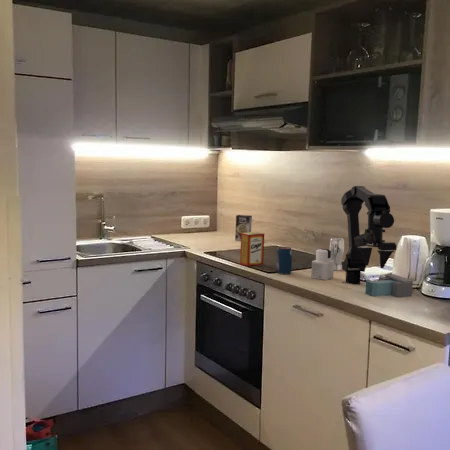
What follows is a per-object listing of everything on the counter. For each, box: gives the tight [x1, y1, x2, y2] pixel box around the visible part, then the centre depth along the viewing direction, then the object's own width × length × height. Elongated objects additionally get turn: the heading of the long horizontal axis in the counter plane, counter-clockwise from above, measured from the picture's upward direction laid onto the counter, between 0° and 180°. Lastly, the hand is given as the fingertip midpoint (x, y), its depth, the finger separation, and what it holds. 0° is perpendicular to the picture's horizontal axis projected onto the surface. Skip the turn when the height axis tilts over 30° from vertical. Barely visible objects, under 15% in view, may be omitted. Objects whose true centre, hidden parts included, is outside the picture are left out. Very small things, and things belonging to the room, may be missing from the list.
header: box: [378, 273, 414, 298], centre depth 217 cm, size 12×7×7 cm, turn 20°
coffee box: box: [234, 214, 253, 242], centre depth 345 cm, size 9×6×16 cm
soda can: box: [275, 246, 293, 275], centre depth 253 cm, size 7×7×12 cm
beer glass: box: [328, 237, 345, 272], centre depth 265 cm, size 7×7×15 cm
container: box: [310, 248, 335, 281], centre depth 246 cm, size 8×8×13 cm
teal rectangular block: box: [364, 279, 396, 297], centre depth 216 cm, size 5×14×5 cm, turn 110°
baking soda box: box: [239, 231, 265, 267], centre depth 271 cm, size 10×6×16 cm
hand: (374, 266), depth 212 cm, fingers open, 9 cm apart
